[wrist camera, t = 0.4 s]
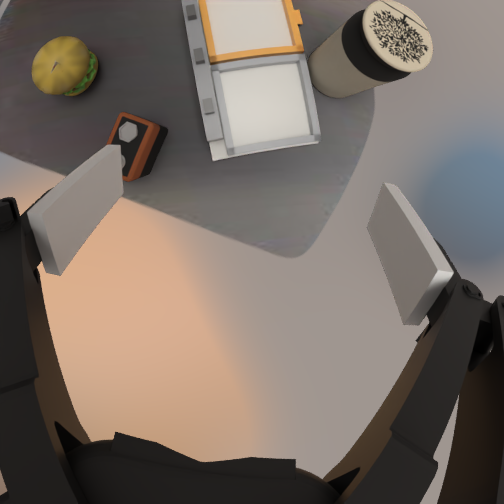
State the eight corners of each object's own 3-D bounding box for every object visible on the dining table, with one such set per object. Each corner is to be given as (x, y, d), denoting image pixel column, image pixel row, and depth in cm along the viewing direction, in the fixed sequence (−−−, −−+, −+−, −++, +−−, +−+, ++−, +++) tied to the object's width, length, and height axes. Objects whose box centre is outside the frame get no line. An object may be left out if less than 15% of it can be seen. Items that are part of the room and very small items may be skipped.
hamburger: (80, 46, 31) (40, 21, 19) (117, 59, 32) (83, 33, 21) (55, 93, 32) (8, 82, 21) (91, 108, 34) (47, 98, 23)
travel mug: (345, 109, 38) (421, 91, 21) (296, 79, 36) (347, 36, 19) (367, 67, 36) (443, 35, 19) (321, 37, 34) (378, -17, 17)
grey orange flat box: (183, -2, 30) (176, -26, 23) (289, -14, 31) (301, -38, 24) (213, 160, 39) (210, 163, 32) (324, 142, 39) (345, 141, 32)
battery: (169, 129, 37) (153, 122, 27) (149, 175, 38) (127, 184, 29) (141, 117, 36) (116, 109, 26) (121, 164, 37) (92, 170, 28)
